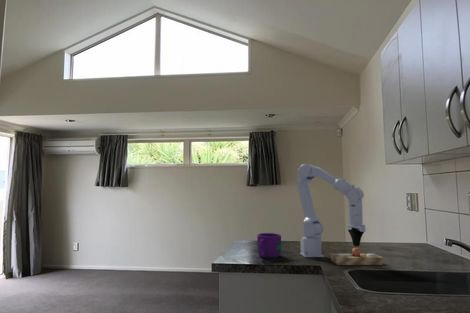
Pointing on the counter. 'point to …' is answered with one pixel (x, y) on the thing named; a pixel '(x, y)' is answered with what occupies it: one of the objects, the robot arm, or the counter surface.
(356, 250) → the plug red
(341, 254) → the plug left
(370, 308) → the counter surface
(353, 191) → the robot arm
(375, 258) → the socket block
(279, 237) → the mug
